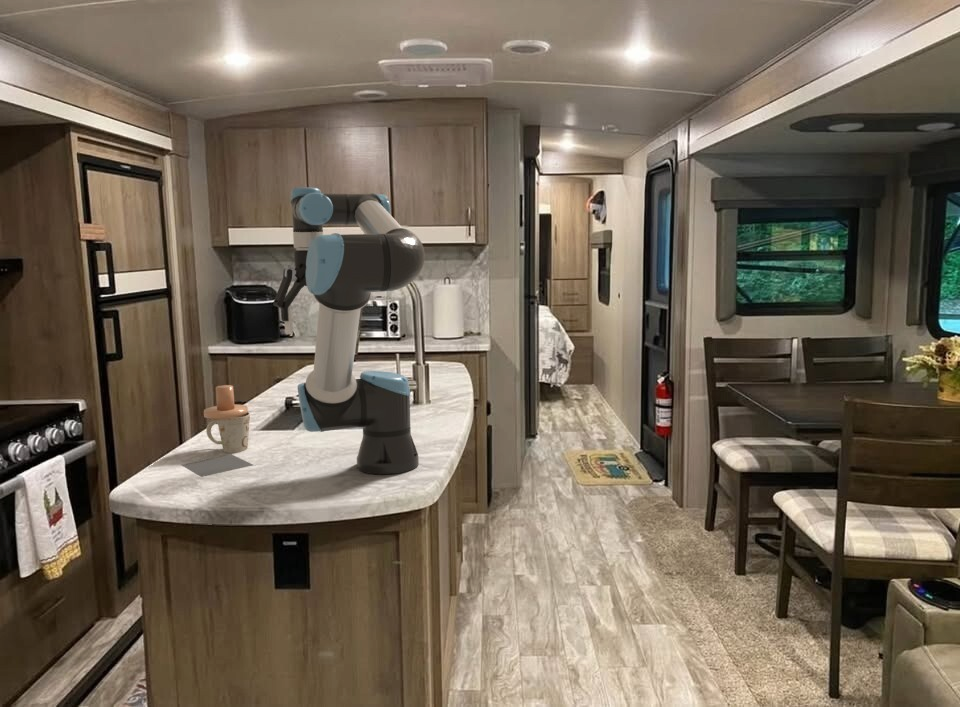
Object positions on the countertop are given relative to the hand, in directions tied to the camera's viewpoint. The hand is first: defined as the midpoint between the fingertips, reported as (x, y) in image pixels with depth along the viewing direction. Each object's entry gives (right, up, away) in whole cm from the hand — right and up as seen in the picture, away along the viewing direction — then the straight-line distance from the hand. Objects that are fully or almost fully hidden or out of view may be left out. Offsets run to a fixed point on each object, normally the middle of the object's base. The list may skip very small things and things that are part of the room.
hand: (312, 331), depth 194 cm
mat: (-22, -34, -9) cm, 41 cm away
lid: (-24, -22, +3) cm, 32 cm away
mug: (-24, -32, +5) cm, 40 cm away
